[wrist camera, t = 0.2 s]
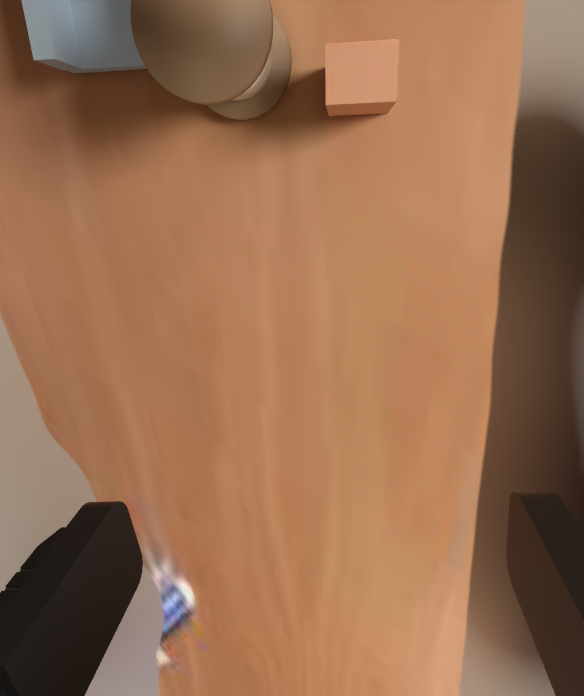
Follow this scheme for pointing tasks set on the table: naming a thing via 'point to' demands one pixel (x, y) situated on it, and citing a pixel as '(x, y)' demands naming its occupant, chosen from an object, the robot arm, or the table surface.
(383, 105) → the tan rectangular block
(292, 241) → the table surface
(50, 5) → the grey channel bracket
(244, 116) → the bobbin
